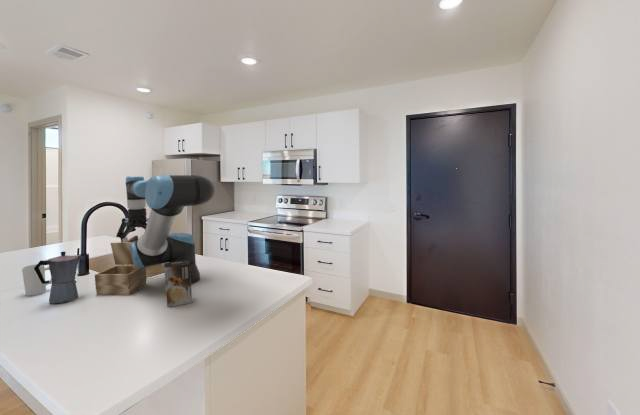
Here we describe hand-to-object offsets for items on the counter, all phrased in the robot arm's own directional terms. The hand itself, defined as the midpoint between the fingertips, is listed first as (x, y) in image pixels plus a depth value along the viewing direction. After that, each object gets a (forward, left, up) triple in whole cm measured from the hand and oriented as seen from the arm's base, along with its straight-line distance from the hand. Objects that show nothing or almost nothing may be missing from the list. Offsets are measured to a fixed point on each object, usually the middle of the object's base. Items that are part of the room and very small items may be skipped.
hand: (139, 251), depth 139 cm
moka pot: (+17, +25, -14) cm, 33 cm away
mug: (+34, +16, -14) cm, 40 cm away
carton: (0, +14, -14) cm, 20 cm away
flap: (0, +10, +1) cm, 10 cm away
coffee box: (-32, +28, -14) cm, 44 cm away
